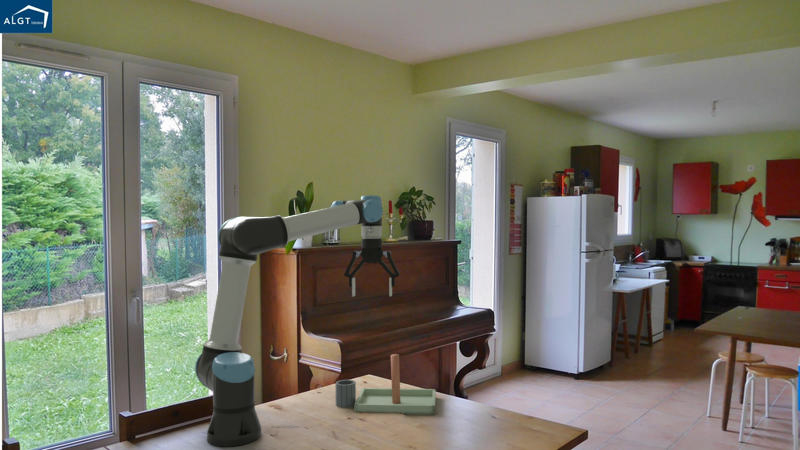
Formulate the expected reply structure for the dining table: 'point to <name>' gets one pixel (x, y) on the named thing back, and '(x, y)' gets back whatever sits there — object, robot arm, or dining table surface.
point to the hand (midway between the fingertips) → (372, 295)
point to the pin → (395, 379)
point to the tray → (410, 404)
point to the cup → (345, 393)
